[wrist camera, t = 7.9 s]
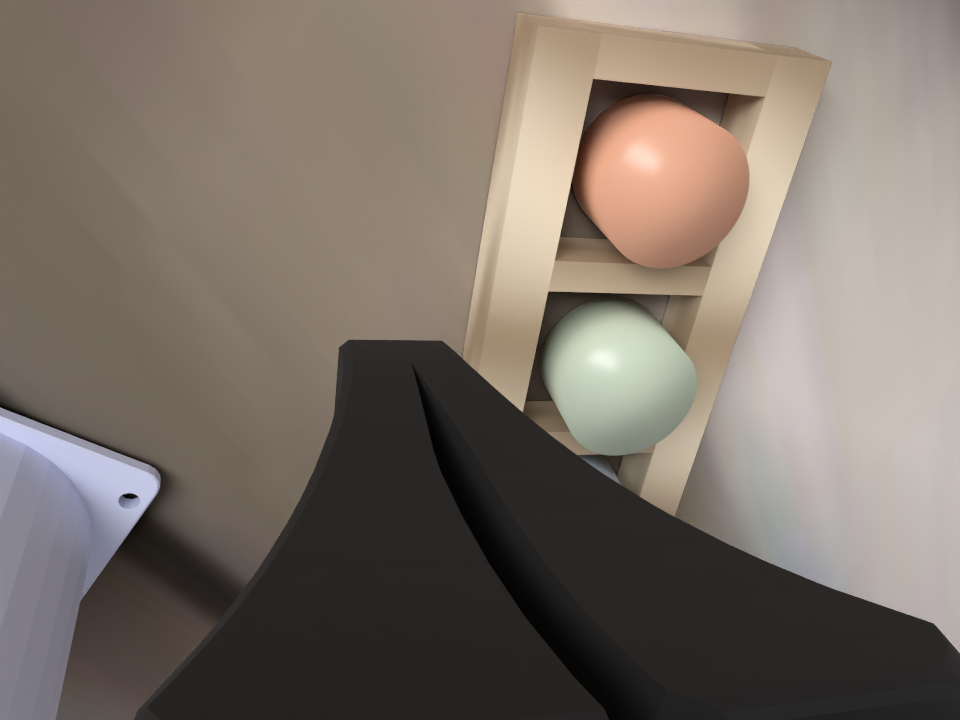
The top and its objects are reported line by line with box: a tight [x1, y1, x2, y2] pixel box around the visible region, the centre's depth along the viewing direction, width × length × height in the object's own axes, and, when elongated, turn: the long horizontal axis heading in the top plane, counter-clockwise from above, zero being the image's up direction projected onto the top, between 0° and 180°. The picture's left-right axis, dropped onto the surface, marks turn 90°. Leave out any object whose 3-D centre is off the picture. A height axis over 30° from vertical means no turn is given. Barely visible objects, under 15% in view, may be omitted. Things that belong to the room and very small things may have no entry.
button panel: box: [462, 13, 832, 517], centre depth 22 cm, size 16×7×2 cm, turn 171°
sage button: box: [539, 297, 697, 456], centre depth 21 cm, size 3×3×2 cm
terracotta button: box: [572, 94, 750, 268], centre depth 19 cm, size 3×3×2 cm
